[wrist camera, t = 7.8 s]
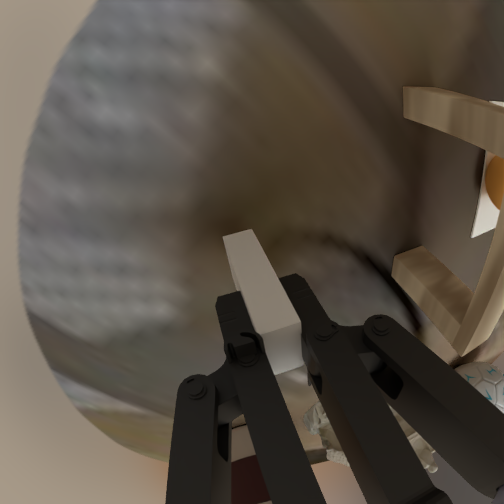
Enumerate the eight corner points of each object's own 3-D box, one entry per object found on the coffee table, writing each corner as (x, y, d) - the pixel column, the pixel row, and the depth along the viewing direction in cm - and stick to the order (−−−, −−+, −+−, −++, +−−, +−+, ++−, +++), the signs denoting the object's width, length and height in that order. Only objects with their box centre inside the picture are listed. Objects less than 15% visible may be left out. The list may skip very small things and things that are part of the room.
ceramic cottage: (308, 398, 31) (364, 515, 19) (420, 352, 35) (478, 439, 23) (292, 441, 40) (328, 523, 29) (382, 405, 44) (422, 474, 32)
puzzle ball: (408, 396, 41) (450, 465, 29) (477, 333, 38) (528, 398, 26) (427, 404, 50) (460, 458, 38) (482, 355, 46) (521, 406, 34)
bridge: (435, 87, 15) (556, 128, 8) (418, 264, 23) (488, 338, 16) (402, 86, 15) (535, 128, 7) (391, 275, 23) (461, 357, 16)
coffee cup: (188, 443, 31) (215, 557, 19) (249, 409, 29) (294, 540, 17) (244, 453, 36) (274, 545, 24) (300, 422, 34) (343, 523, 22)
